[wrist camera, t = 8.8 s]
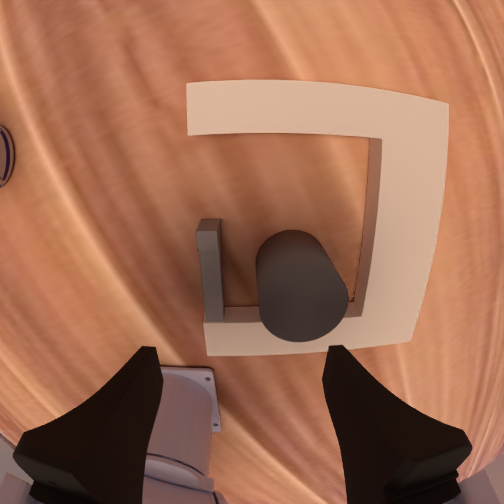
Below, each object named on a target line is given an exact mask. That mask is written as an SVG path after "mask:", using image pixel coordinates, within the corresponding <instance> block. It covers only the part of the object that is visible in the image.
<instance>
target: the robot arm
mask: <svg viewBox="0 0 504 504" xmlns="http://www.w3.org/2000/svg"><path fill="white" fill-rule="evenodd" d="M207 377H209V378H207ZM322 382H323V388H324V394H325V399H326V403H327V406H328V409H329V413H330V416H331V419H332V422H333V425H334V429H335V432H336V435H337V438H338V442H339V446H340V451H341V456H342V462H343V469H344V476H345V484H346V493H347V504H500V502H499V499H498V497H497V495H496V493H495V491H494V489H493V486H492V484H491V482H490V480H489V478H488V476H487V474H486V472H485V470H482V471H480V472H478V473H476V474H475V475H473V476H470V477H468V478H466V479H465V480H463V481H461V482H460V483H457V481H456V478H457V477H458V475H459V474H458V472H457V470H456V469H457V468H458V467H459V466H460V465H461V464H462V463H463V462H464V460H465V459H466V458H467V457H468V456H469V455H470V453H471V451H472V445H471V443H470V441H469V439H468V437H467V436H466V434H465V432H464V431H463V430H462V429H459V428H456V427H453V426H450V425H447V424H444V423H442V422H440V421H438V420H435V419H433V418H431V417H429V416H427V415H425V414H423V413H421V412H420V411H418V410H416V409H414V408H413V407H411V406H410V405H408V404H406V403H405V402H403V401H402V400H401V399H399V398H398V397H397V396H395V395H394V394H393V393H391V392H390V391H389V390H388V389H386V388H385V387H384V386H383V385H382V384H381V383H379V382H378V381H377V380H376V379H375V378H374V377H373V376H372V375H371V374H370V373H369V372H368V371H367V370H366V369H365V368H364V367H363V366H362V365H361V364H360V363H359V362H358V361H357V360H356V358H355V357H354V356H353V355H352V354H351V353H350V352H349V351H348V350H347V349H346V348H345V347H344V346H343V345H331V346H329V347H328V352H327V358H326V363H325V368H324V373H323V377H322ZM221 430H222V426H221V420H220V414H219V407H218V400H217V394H216V387H215V380H214V372H213V371H212V370H211V369H208V368H179V367H160V363H159V359H158V355H157V351H156V347H149V346H142V347H141V348H140V349H139V350H138V351H137V352H136V353H135V354H134V355H133V356H132V357H131V358H130V360H129V361H128V362H127V363H126V364H125V365H124V366H123V367H122V368H121V369H120V370H119V371H118V372H117V373H116V374H115V375H114V376H113V377H112V378H111V379H110V380H109V381H108V382H107V383H106V384H105V385H104V386H103V387H102V388H101V389H100V390H98V391H97V392H96V393H95V394H94V395H92V396H91V397H90V398H89V399H87V400H86V401H85V402H83V403H82V404H80V405H79V406H77V407H76V408H74V409H73V410H71V411H69V412H68V413H66V414H65V415H63V416H61V417H59V418H57V419H55V420H53V421H51V422H49V423H47V424H45V425H42V426H40V427H37V428H34V429H32V430H29V431H26V432H24V433H23V435H22V437H21V439H20V441H19V443H18V445H17V447H16V449H15V451H14V453H13V458H14V460H15V462H16V463H17V464H18V465H19V466H20V467H21V468H22V469H23V470H24V471H25V472H26V473H27V474H28V475H29V476H30V477H31V478H32V479H33V480H34V482H33V485H30V484H29V483H27V482H25V481H24V480H21V479H19V478H17V477H15V476H13V475H11V474H9V473H6V474H5V476H4V479H3V481H2V484H1V486H0V504H228V503H227V501H226V500H225V498H224V496H223V495H222V493H220V492H219V491H215V490H213V488H214V479H212V478H208V473H209V459H210V447H211V434H212V432H220V431H221Z"/></svg>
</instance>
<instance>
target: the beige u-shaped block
mask: <svg viewBox="0 0 504 504" xmlns="http://www.w3.org/2000/svg"><path fill="white" fill-rule="evenodd" d="M187 125H188V136H190V135H205V134H226V133H310V134H331V135H346V136H359V137H370V139H369V165H368V182H367V196H366V208H365V219H364V229H363V238H362V247H361V255H360V262H359V270H358V277H357V283H356V290H355V296H354V302H348V308H347V311H346V313H345V315H344V317H343V319H342V321H341V322H340V323H339V324H338V326H337V327H336V328H335V329H333V330H332V331H331V332H330V333H328V334H326V335H325V336H323V337H321V338H318V339H316V340H312V341H308V342H289V341H285V340H282V339H280V338H277V337H276V336H274V335H273V334H271V333H270V332H269V331H268V330H267V329H266V327H265V326H264V325H263V323H262V321H261V318H260V313H259V306H254V307H224V292H223V277H222V261H221V244H220V239H221V228H220V219H201V221H200V224H199V226H198V228H197V230H196V239H197V251H199V254H200V265H201V276H202V286H203V296H204V305H205V316H204V321H203V327H204V335H205V342H206V350H207V356H256V355H282V354H300V353H314V352H327V351H328V347H329V346H331V345H343V346H344V347H345V348H346V349H347V350H348V349H357V348H366V347H374V346H382V345H389V344H396V343H403V342H410V341H411V338H412V335H413V332H414V329H415V326H416V322H417V319H418V316H419V312H420V309H421V305H422V301H423V298H424V294H425V290H426V286H427V282H428V278H429V274H430V269H431V265H432V260H433V256H434V251H435V246H436V240H437V235H438V229H439V223H440V217H441V210H442V203H443V195H444V186H445V177H446V165H447V151H448V126H449V104H448V103H444V102H440V101H436V100H432V99H428V98H424V97H419V96H414V95H410V94H404V93H399V92H394V91H388V90H382V89H376V88H369V87H362V86H354V85H346V84H336V83H325V82H312V81H294V80H226V81H208V82H195V83H187Z"/></svg>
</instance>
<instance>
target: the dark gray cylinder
mask: <svg viewBox="0 0 504 504" xmlns="http://www.w3.org/2000/svg"><path fill="white" fill-rule="evenodd" d="M256 276H257V289H258V302H259V313H260V318H261V321H262V323H263V325H264V326H265V327H266V329H267V330H268V331H269V332H270V333H271V334H273V335H274V336H276V337H277V338H280V339H282V340H285V341H289V342H308V341H312V340H316V339H318V338H321V337H323V336H325V335H326V334H328V333H330V332H331V331H332V330H333V329H335V328H336V327H337V326H338V324H339V323H340V322H341V321H342V319H343V317H344V315H345V313H346V311H347V308H348V300H349V297H348V291H347V288H346V286H345V284H344V282H343V280H342V279H341V277H340V275H339V274H338V272H337V270H336V269H335V267H334V265H333V264H332V262H331V260H330V259H329V257H328V255H327V254H326V252H325V250H324V249H323V247H322V246H321V244H320V243H319V241H318V240H317V239H316V238H315V237H313V236H312V235H310V234H309V233H306V232H304V231H300V230H285V231H281V232H279V233H276V234H274V235H273V236H271V237H270V238H268V239H267V240H266V241H265V242H264V243H263V245H262V246H261V247H260V249H259V251H258V254H257V257H256Z"/></svg>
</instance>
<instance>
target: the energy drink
mask: <svg viewBox="0 0 504 504" xmlns="http://www.w3.org/2000/svg"><path fill="white" fill-rule="evenodd" d="M13 161H14V149H13V144H12V141H11V138H10V136H9V134H8V132H7V131H6V130H5V129H4V128H3V127H2V126H0V188H1V187H2V186H3V185H4V184H5V183H6V181H7V180H8V178H9V176H10V173H11V170H12V167H13Z"/></svg>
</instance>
